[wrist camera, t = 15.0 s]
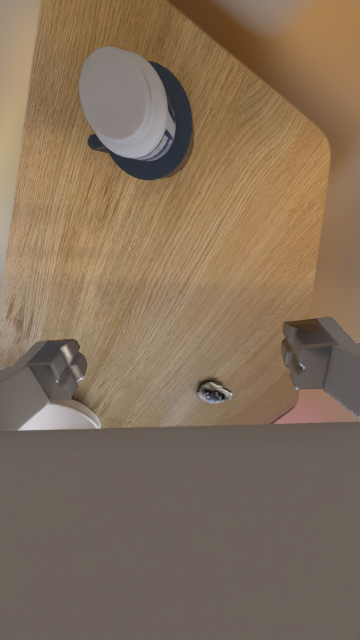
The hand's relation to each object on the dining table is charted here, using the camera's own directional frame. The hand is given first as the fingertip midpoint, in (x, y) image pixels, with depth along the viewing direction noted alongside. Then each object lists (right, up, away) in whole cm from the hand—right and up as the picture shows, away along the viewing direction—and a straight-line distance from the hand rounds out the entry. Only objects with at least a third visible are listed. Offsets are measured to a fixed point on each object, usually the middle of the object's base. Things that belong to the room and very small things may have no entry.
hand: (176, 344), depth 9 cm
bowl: (-26, -21, +49) cm, 59 cm away
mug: (-4, +23, +20) cm, 31 cm away
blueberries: (+8, -15, +42) cm, 46 cm away
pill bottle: (-3, +19, +12) cm, 22 cm away
